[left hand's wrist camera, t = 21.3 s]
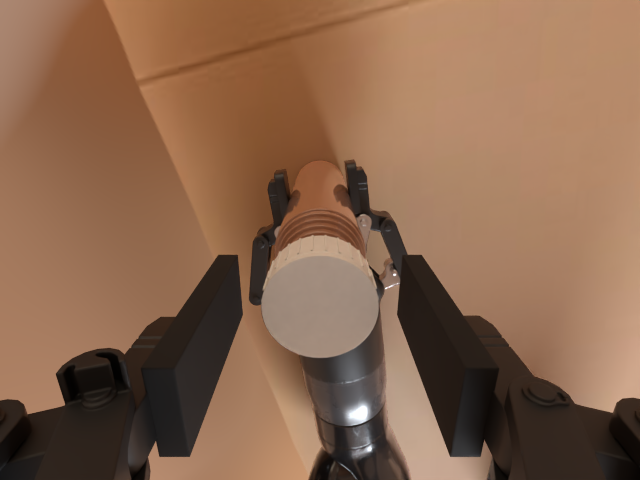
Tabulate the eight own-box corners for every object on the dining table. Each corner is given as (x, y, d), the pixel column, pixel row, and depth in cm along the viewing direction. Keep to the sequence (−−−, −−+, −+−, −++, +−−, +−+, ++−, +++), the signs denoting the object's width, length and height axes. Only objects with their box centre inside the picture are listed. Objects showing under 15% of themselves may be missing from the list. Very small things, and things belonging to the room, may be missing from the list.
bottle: (326, 217, 35) (335, 368, 14) (286, 191, 34) (237, 314, 14) (353, 178, 33) (405, 285, 13) (312, 150, 32) (301, 219, 12)
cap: (257, 314, 15) (248, 344, 13) (281, 221, 14) (274, 240, 12) (354, 337, 16) (358, 370, 14) (386, 249, 14) (397, 271, 12)
